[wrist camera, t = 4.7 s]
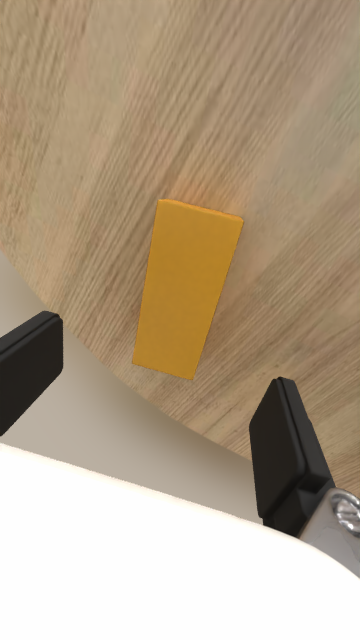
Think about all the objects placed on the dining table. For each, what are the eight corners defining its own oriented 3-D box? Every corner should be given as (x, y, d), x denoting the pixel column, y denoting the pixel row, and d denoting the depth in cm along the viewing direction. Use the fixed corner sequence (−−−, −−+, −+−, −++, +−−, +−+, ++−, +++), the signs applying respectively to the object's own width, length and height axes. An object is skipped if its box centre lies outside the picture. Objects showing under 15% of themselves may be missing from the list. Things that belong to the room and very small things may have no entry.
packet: (196, 358, 22) (192, 380, 19) (142, 343, 22) (131, 363, 19) (240, 216, 16) (244, 221, 14) (167, 198, 16) (157, 199, 14)
